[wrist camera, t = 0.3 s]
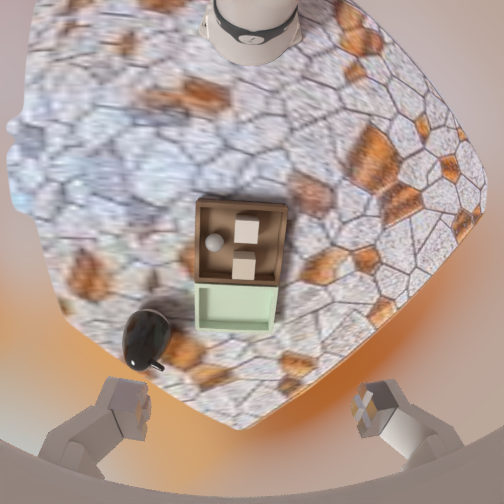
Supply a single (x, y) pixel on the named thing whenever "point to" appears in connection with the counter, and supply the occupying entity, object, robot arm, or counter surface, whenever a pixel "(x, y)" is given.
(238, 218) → the small beige block
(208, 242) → the round pebble
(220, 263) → the walnut crate
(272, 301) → the green tray
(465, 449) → the robot arm
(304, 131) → the counter surface
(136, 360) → the black rounded cone
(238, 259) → the beige cube
